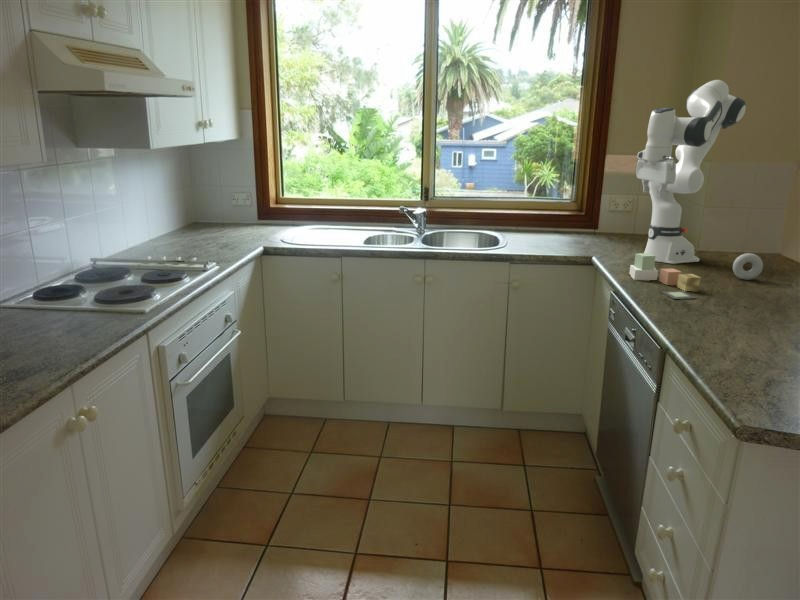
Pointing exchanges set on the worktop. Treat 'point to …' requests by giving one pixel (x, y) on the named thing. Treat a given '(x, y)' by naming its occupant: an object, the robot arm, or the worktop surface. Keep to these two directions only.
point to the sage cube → (644, 261)
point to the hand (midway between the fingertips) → (653, 193)
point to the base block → (643, 273)
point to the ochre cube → (688, 282)
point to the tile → (679, 295)
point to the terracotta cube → (669, 276)
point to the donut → (744, 258)
